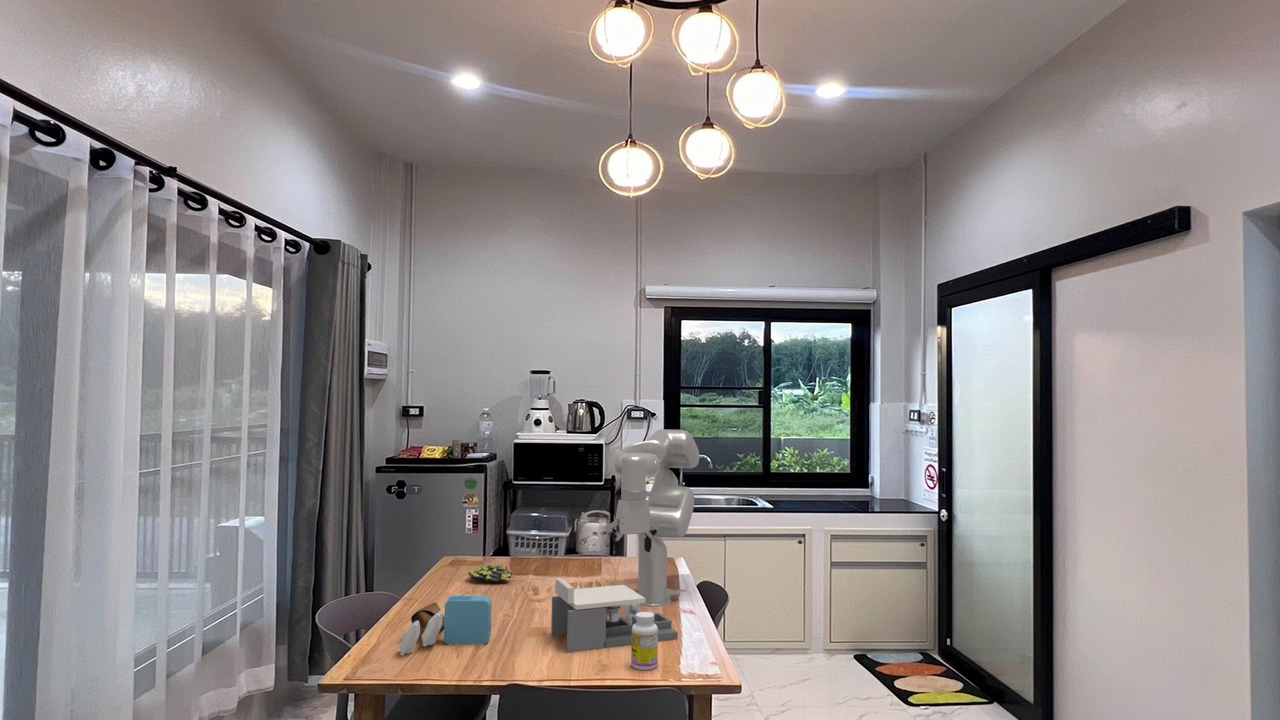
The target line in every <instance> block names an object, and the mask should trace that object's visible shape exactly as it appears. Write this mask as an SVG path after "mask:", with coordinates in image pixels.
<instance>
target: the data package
mask: <svg viewBox="0 0 1280 720" xmlns="http://www.w3.org/2000/svg"><path fill="white" fill-rule="evenodd" d="M492 602H493V601H492V599H491V597H489V596H487V595H485V596H484V595H483V596H482V595H453V596H450V597H449V598H448V600H447V601H446V602H445V604H444V614H443V616H444V628H443V641H444V644H446V645H447V644H476V645H475V646H478V645H477V644H485V645H487V644H488V642H489V641H490V638H491V636H492V605H493V604H492Z"/></svg>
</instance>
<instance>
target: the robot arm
mask: <svg viewBox="0 0 1280 720" xmlns="http://www.w3.org/2000/svg"><path fill="white" fill-rule="evenodd" d="M695 441H696V440H695V439H694V437H693V436H692V435H691V433H690V432H689V431H687V430H685V429H658V430H656V431H655V432H653V434H652V435H650V436H649V437H648V438H647V440H644V441H640V442H637V443H634V444H630V445H627V446H625V447H623V448H622V449H621V450H620V451H619V452H618V453H617V455H616V457H615V459H614V465H613V466H614V470H615V473H617V475H619V476H620V477H621V490H620V491H621V498H620V500H618V503H617V506H616V512H615V513H616V514H615V520H614V521H612V522H610V523H609V524H608V525H606V526H605V528H606V532H607V533H608V535H609V536H610V537H611V538H612V540H613V551H614V553H615V554H617V555H618V556H619V555H621V554H622V541H621V538H622V537H623V536H624V535H637V540H638V557H637V558H638V561H637V563H638V568H637V569H638V570H637V577H638V579H637V593H638V594H639V595H641V596H643V597H644V598H645V603H640V607H646V608H660V607H666V606H669V605H671V604H672V597H678V596H679V597H680V595H681V590H680V589H673V588H667V585H668V584H667V582H668V580H667V579H668V578H667V577H668V549H667V548H668V547H667V546H666V543H665V542H664V540H663V539H662V537H666V538H683V537H684V536H685V535H686V534H687V532H688V530H689V527H690V524H691V523H690V522H691V519H692V516H693V512H694V508H695V494H694V492H693V490H692V489H691V488H690V487H688V486H679V480H678V478H677V476H676V475H675V473H674V471H672V470H671V468H674V469H694V468H696V467H697V466H698V465H699V461H700V452H699V447H698V445H697V444H696V442H695ZM647 478H654V481H653V483H652V486H651V490H650V491H647ZM647 497H648V500H647ZM613 528H615V532H614V531H613Z"/></svg>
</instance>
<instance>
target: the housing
mask: <svg viewBox="0 0 1280 720" xmlns="http://www.w3.org/2000/svg"><path fill="white" fill-rule="evenodd" d="M653 614H654V621H653V623H654V624H656V625H657V627H658V643H659V642H667V641H675V640H679V639H678V636H679V634H678V633H679V632H678V631H677V630H675V629H674V628H673V627H672V620H670V619H669V618H668V617H666V616H665V615H662V613H660V612H656V613H653ZM550 618H551V626H550V628H551V629H550V635H551V637H555V636H556V637H557V636H562V635H563V636H564V635H566V638H567V639H566V653H568V654H569V653H570V654H571V653H578V652H586V651H587V652H588V651H593V650H602V649H611V648H618V647H619V648H620V647H626V646H627V647H628V646H632V626H633V625H634V624H635V623H637V621H636V616H632V619H626V620H625V619H624V618H623V617H621V616H620V626H616V627H607V628H606V607H598V608H588V609H578V610H576V609H575V608H573V607H572V606H571V605H570V604H568V603H567V602H565V601H564V600H563V599H562V598H561V597H560V596H559V595H555V596H554V595H553V596H551V617H550Z"/></svg>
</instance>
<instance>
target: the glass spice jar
mask: <svg viewBox="0 0 1280 720" xmlns="http://www.w3.org/2000/svg"><path fill="white" fill-rule="evenodd" d="M621 607H622V605H618V606H608V607H606V628H607V627H616V626H620V617H621V609H622V608H621Z"/></svg>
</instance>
